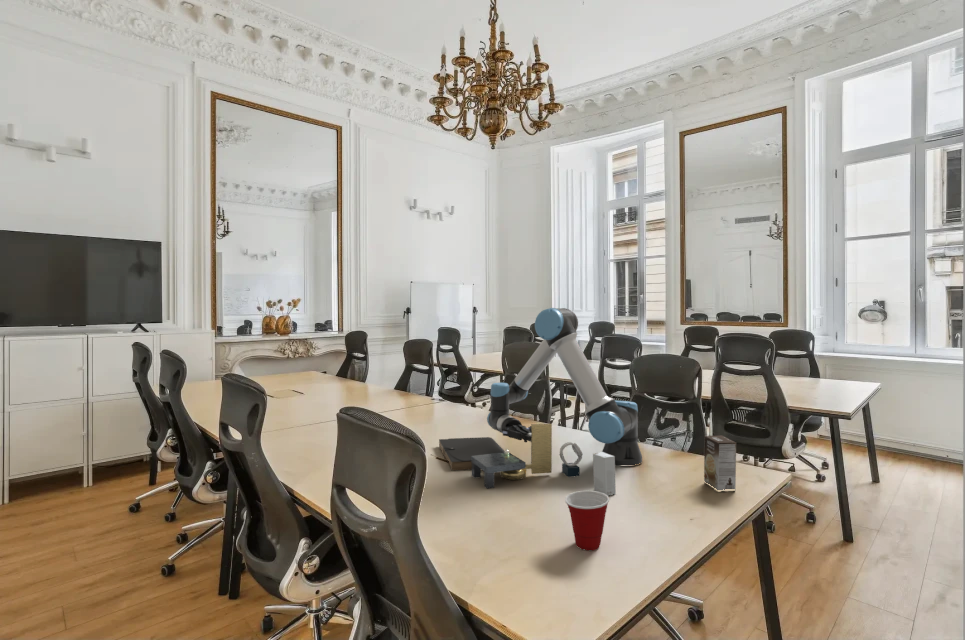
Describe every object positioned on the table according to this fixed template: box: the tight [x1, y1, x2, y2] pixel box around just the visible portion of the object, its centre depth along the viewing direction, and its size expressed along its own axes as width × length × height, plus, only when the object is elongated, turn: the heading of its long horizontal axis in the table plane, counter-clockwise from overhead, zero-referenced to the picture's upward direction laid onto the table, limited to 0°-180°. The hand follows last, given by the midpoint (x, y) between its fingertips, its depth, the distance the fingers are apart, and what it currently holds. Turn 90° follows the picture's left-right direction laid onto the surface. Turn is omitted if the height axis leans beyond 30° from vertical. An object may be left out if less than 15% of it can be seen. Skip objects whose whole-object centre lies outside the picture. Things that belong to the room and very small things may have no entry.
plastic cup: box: [564, 490, 610, 551], centre depth 126 cm, size 11×11×12 cm
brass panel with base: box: [500, 423, 553, 481], centre depth 180 cm, size 9×17×18 cm, turn 114°
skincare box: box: [592, 451, 617, 497], centre depth 162 cm, size 6×4×12 cm
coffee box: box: [703, 434, 737, 490], centre depth 167 cm, size 9×6×16 cm
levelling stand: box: [471, 449, 526, 490], centre depth 175 cm, size 14×14×9 cm
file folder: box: [438, 436, 505, 471], centre depth 203 cm, size 33×4×24 cm
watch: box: [558, 441, 583, 478], centre depth 181 cm, size 6×8×11 cm
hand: (538, 440), depth 180 cm, fingers closed
